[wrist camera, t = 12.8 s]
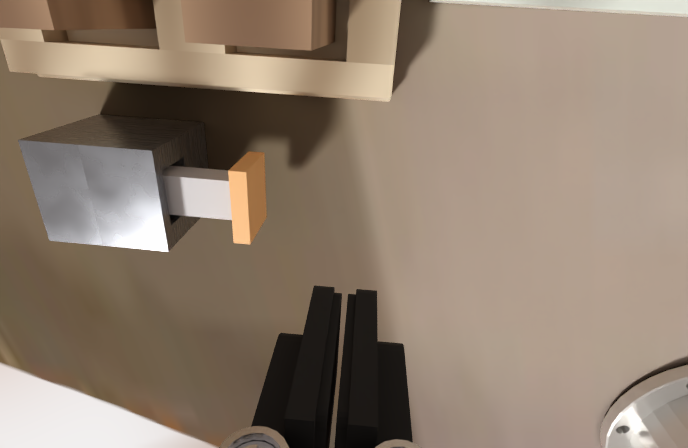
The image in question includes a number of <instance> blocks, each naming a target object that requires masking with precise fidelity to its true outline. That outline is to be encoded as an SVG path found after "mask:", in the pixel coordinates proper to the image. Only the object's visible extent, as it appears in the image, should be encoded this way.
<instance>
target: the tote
mask: <svg viewBox="0 0 688 448" xmlns="http://www.w3.org/2000/svg"><path fill="white" fill-rule="evenodd" d="M429 2H436V3H454V4H471V5H488V6H505V7H523V8H540V9H557V10H575V11H592V12H609V13H626V14H644V15H661V16H678V17H688V0H429Z"/></svg>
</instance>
